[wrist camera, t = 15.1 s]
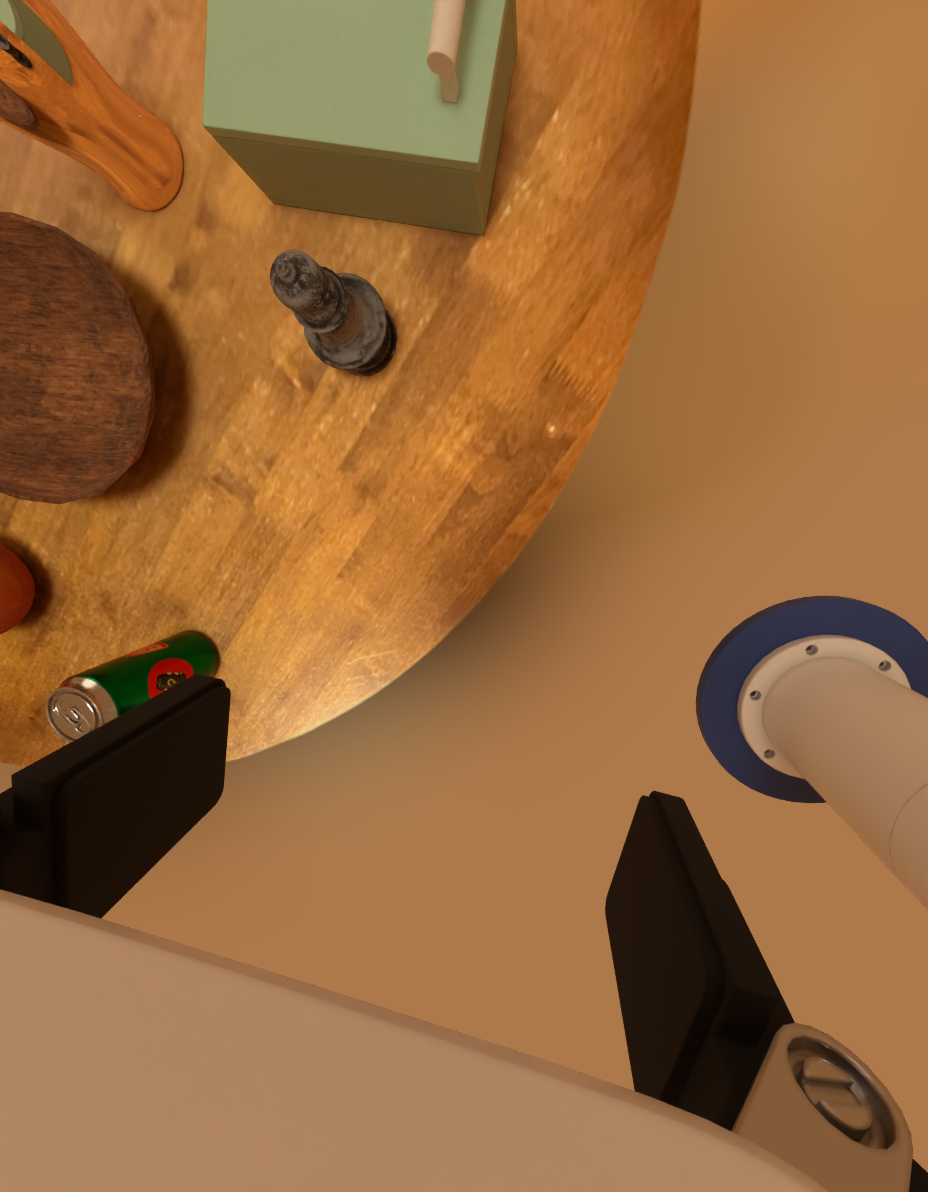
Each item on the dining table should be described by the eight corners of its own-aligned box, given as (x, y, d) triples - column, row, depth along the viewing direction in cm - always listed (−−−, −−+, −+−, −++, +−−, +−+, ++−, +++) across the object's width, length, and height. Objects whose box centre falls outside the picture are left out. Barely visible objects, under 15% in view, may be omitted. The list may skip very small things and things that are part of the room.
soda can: (195, 619, 43) (68, 667, 31) (231, 662, 43) (120, 726, 31) (160, 649, 44) (26, 707, 32) (196, 691, 44) (76, 762, 33)
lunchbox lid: (522, -79, 23) (520, -192, 19) (479, 172, 26) (470, 117, 22) (222, -105, 25) (165, -214, 21) (211, 135, 27) (158, 77, 23)
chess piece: (375, 396, 36) (300, 352, 24) (312, 352, 36) (206, 287, 24) (415, 323, 34) (355, 239, 23) (349, 277, 34) (255, 170, 23)
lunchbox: (517, 46, 30) (512, -78, 23) (483, 235, 32) (471, 172, 26) (288, 20, 31) (223, -104, 25) (273, 203, 34) (211, 136, 27)
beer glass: (170, 236, 35) (-80, 63, 21) (92, 189, 36) (-211, -17, 21) (203, 137, 34) (-47, -128, 19) (121, 87, 34) (-190, -215, 19)
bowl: (190, 525, 41) (143, 530, 36) (-32, 471, 43) (-104, 469, 38) (206, 271, 36) (155, 238, 31) (-46, 223, 38) (-131, 184, 33)
